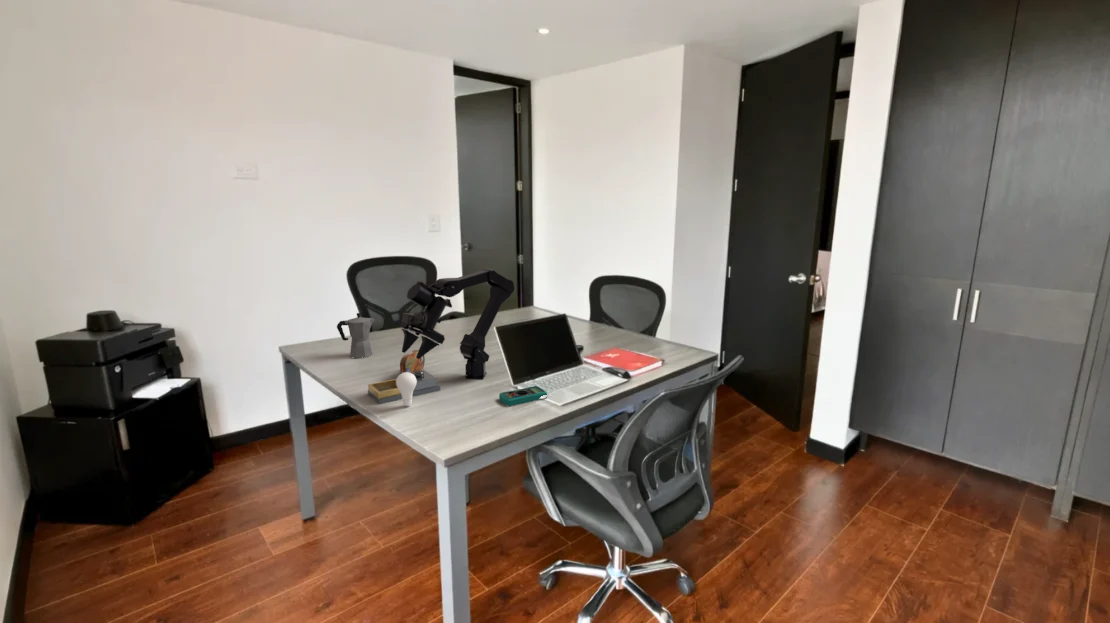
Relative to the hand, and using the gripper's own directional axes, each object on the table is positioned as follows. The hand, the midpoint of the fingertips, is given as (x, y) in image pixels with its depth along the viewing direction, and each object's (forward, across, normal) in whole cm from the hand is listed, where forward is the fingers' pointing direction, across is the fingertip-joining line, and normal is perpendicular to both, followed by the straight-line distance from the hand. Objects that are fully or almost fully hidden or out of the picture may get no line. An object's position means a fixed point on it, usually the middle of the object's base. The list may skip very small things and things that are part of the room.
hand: (410, 355), depth 166 cm
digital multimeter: (-2, +28, +28) cm, 40 cm away
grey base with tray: (+12, -4, +7) cm, 14 cm away
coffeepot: (+8, -54, +13) cm, 56 cm away
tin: (+5, -18, +17) cm, 25 cm away
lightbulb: (+15, +8, +3) cm, 17 cm away
